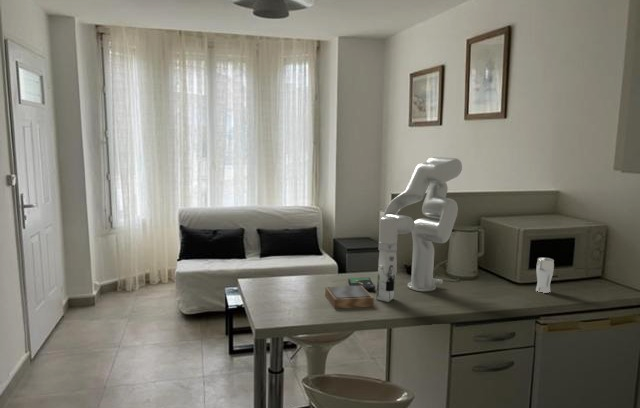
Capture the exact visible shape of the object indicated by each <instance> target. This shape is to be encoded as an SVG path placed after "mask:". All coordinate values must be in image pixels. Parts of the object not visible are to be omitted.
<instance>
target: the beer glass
mask: <svg viewBox="0 0 640 408" xmlns="http://www.w3.org/2000/svg"><path fill="white" fill-rule="evenodd" d="M554 262H555V260H554V259H553V258H550V257H538V258H537V262H536V269H535V270H536V281H537V283H536V287H535V292H537V291H538V292H537V293H539V292H543V293H542V294H544V293H549V292H550V293H551V281H552V278H553V275H554V268H555V263H554ZM550 293H549V294H550Z"/></svg>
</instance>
